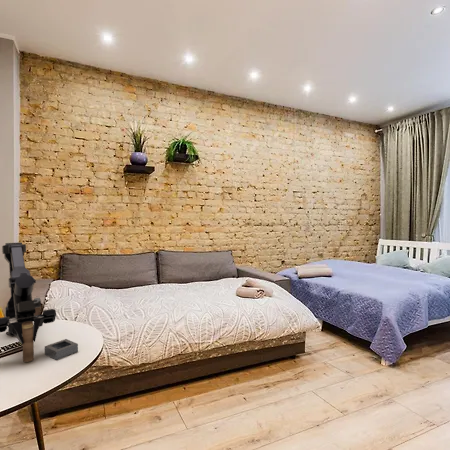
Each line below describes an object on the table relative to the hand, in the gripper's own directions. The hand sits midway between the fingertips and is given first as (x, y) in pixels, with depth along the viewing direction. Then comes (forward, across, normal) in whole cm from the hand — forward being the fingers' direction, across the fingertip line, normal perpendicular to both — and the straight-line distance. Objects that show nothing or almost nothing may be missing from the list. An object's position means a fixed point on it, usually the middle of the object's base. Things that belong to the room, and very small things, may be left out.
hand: (28, 342), depth 108 cm
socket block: (+4, +10, +6) cm, 13 cm away
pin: (+4, 0, +6) cm, 7 cm away
